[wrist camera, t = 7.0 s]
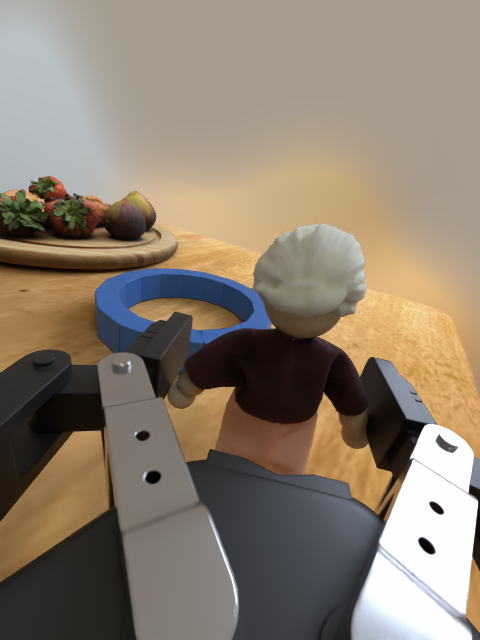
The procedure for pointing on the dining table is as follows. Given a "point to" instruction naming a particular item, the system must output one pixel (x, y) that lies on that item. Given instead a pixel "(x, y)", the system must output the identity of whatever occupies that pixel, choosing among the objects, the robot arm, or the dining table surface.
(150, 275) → the tape ring
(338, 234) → the grandmother figurine
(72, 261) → the wooden plate
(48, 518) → the dining table surface
